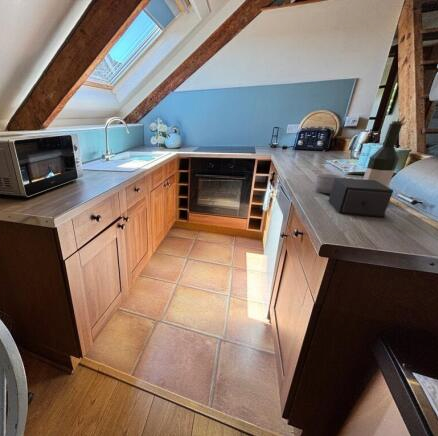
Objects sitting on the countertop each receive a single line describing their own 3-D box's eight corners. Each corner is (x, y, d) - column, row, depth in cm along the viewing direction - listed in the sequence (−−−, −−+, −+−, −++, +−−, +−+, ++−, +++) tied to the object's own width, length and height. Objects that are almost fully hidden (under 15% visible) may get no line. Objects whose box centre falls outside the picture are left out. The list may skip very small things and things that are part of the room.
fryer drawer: (385, 217, 81) (393, 194, 78) (343, 213, 85) (350, 191, 82) (367, 203, 93) (374, 183, 90) (332, 200, 97) (337, 181, 94)
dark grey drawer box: (383, 217, 83) (393, 190, 79) (338, 212, 87) (346, 187, 84) (366, 204, 95) (375, 180, 92) (328, 200, 100) (334, 177, 96)
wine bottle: (356, 194, 107) (380, 121, 95) (382, 197, 102) (410, 121, 91) (357, 199, 101) (383, 121, 89) (384, 202, 96) (415, 121, 85)
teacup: (310, 192, 110) (314, 175, 107) (315, 187, 118) (319, 171, 115) (348, 198, 102) (354, 180, 98) (351, 193, 109) (357, 175, 106)
